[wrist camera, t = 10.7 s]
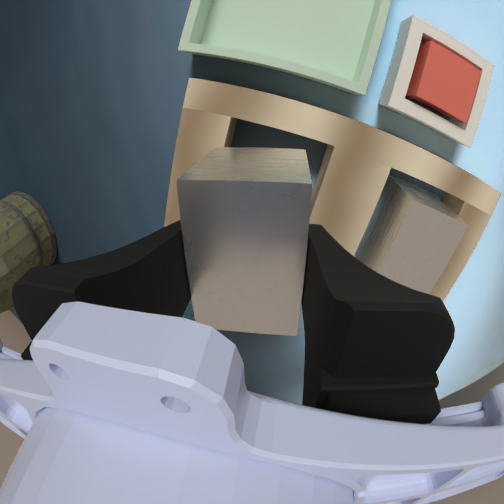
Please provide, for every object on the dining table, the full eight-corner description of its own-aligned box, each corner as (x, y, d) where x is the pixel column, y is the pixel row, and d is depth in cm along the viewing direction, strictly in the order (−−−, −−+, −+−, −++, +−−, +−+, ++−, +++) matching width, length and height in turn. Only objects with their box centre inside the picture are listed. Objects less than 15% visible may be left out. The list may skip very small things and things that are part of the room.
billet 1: (305, 149, 13) (312, 183, 8) (297, 265, 16) (297, 335, 11) (215, 147, 13) (176, 180, 9) (221, 261, 16) (196, 327, 12)
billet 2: (434, 193, 18) (468, 225, 13) (399, 265, 21) (419, 308, 16) (385, 172, 18) (412, 200, 13) (352, 250, 21) (365, 294, 16)
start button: (464, 71, 13) (480, 71, 11) (451, 118, 14) (466, 123, 13) (417, 44, 13) (431, 40, 11) (403, 94, 14) (416, 95, 13)
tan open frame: (482, 180, 16) (501, 193, 14) (419, 301, 22) (428, 322, 20) (202, 79, 16) (189, 77, 14) (174, 233, 22) (161, 251, 19)
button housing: (478, 65, 12) (494, 65, 11) (455, 141, 15) (470, 148, 14) (401, 21, 12) (412, 15, 11) (378, 103, 15) (388, 105, 14)
